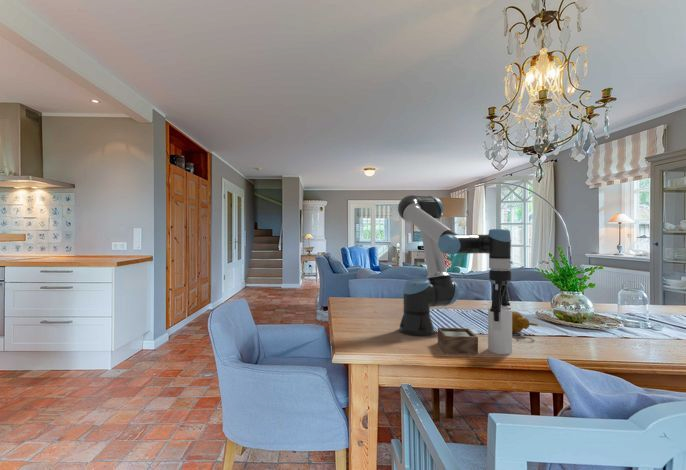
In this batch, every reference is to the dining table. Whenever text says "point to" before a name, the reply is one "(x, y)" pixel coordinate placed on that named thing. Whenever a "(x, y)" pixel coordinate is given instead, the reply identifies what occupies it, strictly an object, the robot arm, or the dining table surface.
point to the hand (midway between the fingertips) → (500, 326)
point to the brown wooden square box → (457, 340)
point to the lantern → (519, 322)
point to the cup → (500, 332)
